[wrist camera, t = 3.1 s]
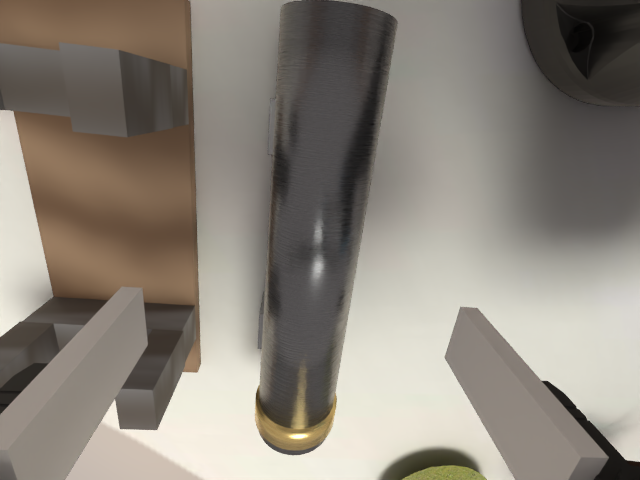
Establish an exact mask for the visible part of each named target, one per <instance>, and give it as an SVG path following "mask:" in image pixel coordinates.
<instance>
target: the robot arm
mask: <svg viewBox="0 0 640 480" xmlns="http://www.w3.org/2000/svg"><path fill="white" fill-rule="evenodd" d="M522 13H523V21H524V27H525V32H526V36H527V40H528V43H529V46H530V49H531V52H532V54H533V56H534V58H535V60H536V62H537V64H538V65H539V67H540V69H541V70H542V72H543V73H544V74H545V76H546V77H547V78H548V79H549V80H550V81H551V82H552V83H553V84H554V85H555V86H556V87H557V88H558V89H560V90H561V91H562V92H564V93H565V94H567V95H569V96H571V97H573V98H575V99H577V100H580V101H582V102H586V103H589V104H594V105H602V106H640V0H522ZM147 345H148V340H147V330H146V320H145V310H144V300H143V290H142V288H136V287H121V288H120V289H119V290H118V291H117V292H116V293H115V294H114V295H113V296H112V297H111V298H110V300H109V301H108V302H107V303H106V304H105V305H104V306H103V307H102V308H101V309H100V310H99V311H98V312H97V313H96V314H95V315H94V316H93V317H92V318H91V320H90V321H89V322H88V323H87V324H86V325H85V326H84V327H83V328H82V329H81V330H80V331H79V332H78V333H77V334H76V335H75V336H74V337H73V338H72V340H71V341H70V342H69V343H68V344H67V345H66V346H65V347H64V348H63V349H62V350H61V351H60V352H59V353H58V354H57V355H56V356H55V357H54V358H53V360H52V361H51V362H50V363H33V364H32V365H30V366H28V367H27V368H25V369H24V370H22V371H20V372H19V373H17V374H15V375H14V376H13V377H12V378H11V379H10V380H8V381H7V382H6V383H5V384H4V385H3V386H2V387H1V388H0V480H65V479H66V477H67V476H68V474H69V472H70V471H71V469H72V468H73V466H74V464H75V462H76V461H77V459H78V458H79V456H80V455H81V453H82V451H83V450H84V448H85V446H86V445H87V443H88V442H89V440H90V438H91V437H92V435H93V433H94V432H95V430H96V429H97V427H98V425H99V424H100V422H101V420H102V419H103V417H104V415H105V414H106V412H107V411H108V409H109V407H110V406H111V404H112V402H113V401H114V399H115V398H116V396H117V394H118V393H119V391H120V389H121V388H122V386H123V385H124V383H125V381H126V380H127V378H128V376H129V375H130V373H131V371H132V370H133V368H134V367H135V365H136V363H137V362H138V360H139V358H140V357H141V355H142V354H143V352H144V350H145V349H146V347H147ZM445 359H446V361H447V363H448V364H449V366H450V368H451V369H452V371H453V373H454V375H455V376H456V378H457V380H458V382H459V383H460V385H461V387H462V388H463V390H464V392H465V394H466V395H467V397H468V399H469V400H470V402H471V404H472V406H473V407H474V409H475V411H476V413H477V414H478V416H479V418H480V419H481V421H482V423H483V425H484V426H485V428H486V430H487V431H488V433H489V435H490V437H491V438H492V440H493V442H494V443H495V445H496V447H497V449H498V450H499V452H500V454H501V456H502V457H503V459H504V461H505V462H506V464H507V466H508V468H509V469H510V471H511V473H512V474H513V476H514V478H515V480H640V467H638V466H632V465H630V464H629V463H628V462H627V461H626V460H625V459H624V458H623V457H622V456H621V455H620V453H619V452H618V451H617V450H616V449H615V448H614V447H613V446H612V445H611V444H610V443H609V442H608V440H607V439H606V438H605V437H604V436H603V435H602V434H601V433H600V432H599V431H598V430H597V429H596V427H595V426H594V425H593V424H592V423H591V422H590V421H587V418H586V417H585V415H584V414H583V413H582V412H581V411H580V410H579V409H577V408H576V406H575V405H574V404H573V402H572V401H571V400H570V399H569V398H568V397H567V396H566V395H565V394H564V393H563V392H562V391H560V390H559V389H558V388H556V387H555V386H554V385H552V384H551V383H550V382H548V381H541V380H540V379H539V378H538V376H537V375H536V374H535V373H534V372H533V371H532V370H531V369H530V367H529V366H528V365H527V364H526V363H525V362H524V361H523V359H522V358H521V357H520V356H519V355H518V354H517V353H516V352H515V350H514V349H513V348H512V347H511V346H510V345H509V344H508V342H507V341H506V340H505V339H504V338H503V337H502V336H501V334H500V333H499V332H498V331H497V330H496V329H495V328H494V327H493V325H492V324H491V323H490V322H489V321H488V320H487V319H486V317H485V316H484V315H483V314H482V313H481V312H480V311H479V309H478V308H469V307H460V310H459V313H458V316H457V320H456V323H455V326H454V329H453V332H452V336H451V339H450V342H449V345H448V348H447V352H446V355H445Z"/></svg>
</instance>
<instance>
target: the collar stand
mask: <svg viewBox="0 0 640 480" xmlns="http://www.w3.org/2000/svg"><path fill="white" fill-rule="evenodd" d="M0 110H11V111H14V116H15V120H16V125H17V130H18V134H19V139H20V143H21V148H22V153H23V157H24V162H25V166H26V171H27V176H28V180H29V185H30V189H31V194H32V199H33V203H34V208H35V212H36V217H37V222H38V226H39V231H40V235H41V240H42V245H43V249H44V254H45V258H46V263H47V268H48V272H49V277H50V281H51V286H52V291H53V295H54V297H53V298H52V299H50V300H49V301H48V302H46V303H45V304H44V305H43V306H41V307H40V308H39V309H38V310H36V311H35V312H34V313H32V314H31V315H30V316H29V317H27V318H26V319H25V320H24V321H22V322H19V323H18V324H17V325H15V326H14V327H13V328H12V329H10V330H9V331H8V332H6V333H5V334H4V335H3V336H1V337H0V388H1V387H2V386H3V385H4V384H5V383H6V382H7V381H8V380H10V379H11V378H12V377H13V376H14V375H15V374H17V373H19V372H20V371H22V370H24V369H25V368H27V367H28V366H30V365H32V364H33V363H50V362H51V361H52V360H53V358H54V357H55V356H56V355H57V354H58V353H59V352H60V351H61V350H62V349H63V348H64V347H65V346H66V345H67V344H68V343H69V342H70V341H71V340H72V338H73V337H74V336H75V335H76V334H77V333H78V332H79V331H80V330H81V329H82V328H83V327H84V326H85V325H86V324H87V323H88V322H89V321H90V320H91V318H92V317H93V316H94V315H95V314H96V313H97V312H98V311H99V310H100V309H101V308H102V307H103V306H104V305H105V304H106V303H107V302H108V301H109V300H110V298H111V297H112V296H113V295H114V294H115V293H116V292H117V291H118V290H119V289H120V288H121V287H136V288H142V290H143V300H144V310H145V320H146V330H147V340H148V345H147V347H146V349H145V350H144V352H143V354H142V355H141V357H140V358H139V360H138V362H137V363H136V365H135V367H134V368H133V370H132V371H131V373H130V375H129V376H128V378H127V380H126V381H125V383H124V385H123V386H122V388H121V389H120V391H119V393H118V394H117V396H116V398H115V401H116V407H117V413H118V419H119V426H120V429H139V430H157V429H158V427H159V424H160V422H161V420H162V417H163V415H164V413H165V411H166V408H167V406H168V404H169V402H170V399H171V397H172V395H173V392H174V390H175V388H176V386H177V383H178V381H179V379H180V377H181V374H182V372H198V369H199V367H200V364H201V357H200V322H199V288H198V254H197V220H196V186H195V152H194V118H193V83H192V49H191V15H190V2H189V1H188V0H0Z"/></svg>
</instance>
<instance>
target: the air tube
mask: <svg viewBox="0 0 640 480" xmlns="http://www.w3.org/2000/svg"><path fill="white" fill-rule="evenodd" d="M397 24H398V22H397V20H396V19H395V18H394V17H393V16H391V15H390V14H388V13H385V12H383V11H380V10H378V9H374V8H371V7H367V6H363V5H358V4H353V3H347V2H340V1H330V0H301V1H294V2H290V3H287V4H284V5H283V6H282V7H281V15H280V33H279V51H278V68H277V86H276V104H275V122H274V140H273V157H272V175H271V193H270V211H269V228H268V246H267V264H266V282H265V300H264V317H263V335H262V353H261V371H260V385H259V386H258V389H257V393H256V405H255V421H256V425H257V428H258V430H259V433H260V435H261V437H262V439H263V440H264V442H265V443H266V444H267V445H268V446H269V447H271V448H272V449H274V450H276V451H277V452H280V453H283V454H287V455H301V454H305V453H308V452H311V451H313V450H314V449H316V448H317V447H319V446H320V445H321V444H322V443H323V441H324V440H325V438H326V437H327V435H328V434H329V432H330V430H331V428H332V425H333V421H334V415H335V409H336V402H337V398H336V393H335V391H336V385H337V379H338V373H339V367H340V361H341V355H342V350H343V344H344V338H345V332H346V326H347V320H348V314H349V308H350V302H351V296H352V290H353V284H354V278H355V273H356V267H357V261H358V255H359V249H360V243H361V237H362V231H363V225H364V219H365V213H366V207H367V201H368V196H369V190H370V184H371V178H372V172H373V166H374V160H375V154H376V148H377V142H378V136H379V130H380V124H381V119H382V113H383V107H384V101H385V95H386V89H387V83H388V77H389V71H390V65H391V59H392V53H393V47H394V42H395V36H396V30H397Z"/></svg>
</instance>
